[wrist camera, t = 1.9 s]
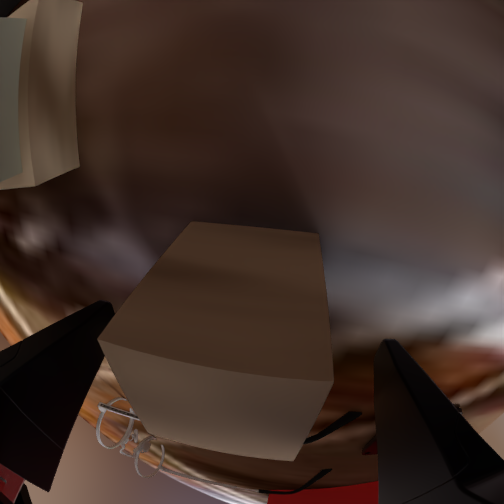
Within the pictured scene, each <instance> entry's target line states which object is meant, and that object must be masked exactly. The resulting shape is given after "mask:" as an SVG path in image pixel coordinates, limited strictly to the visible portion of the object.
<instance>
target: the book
mask: <svg viewBox="0 0 504 504" xmlns="http://www.w3.org/2000/svg"><path fill="white" fill-rule="evenodd" d="M270 491H284V492H286V491H294V490H270ZM267 504H378V481H375V482H369V483H363V484H357V485H350V486H342V487H333V488H322V489H305V490H301V491H300V492H297V493H294V494H286V495H281V494H269V497H268V503H267Z"/></svg>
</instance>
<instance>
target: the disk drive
mask: <svg viewBox="0 0 504 504" xmlns="http://www.w3.org/2000/svg"><path fill="white" fill-rule="evenodd" d="M20 1H21V0H0V17H3V18H5V17H6V16H7V15H8V14H9V13H10V11H11V10H12V9H13V8H14V7H15V6H16V5H17V4H18V3H19V2H20Z"/></svg>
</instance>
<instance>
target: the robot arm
mask: <svg viewBox="0 0 504 504" xmlns="http://www.w3.org/2000/svg"><path fill="white" fill-rule="evenodd" d="M114 315H115V313H114V310H113V307H112V304H111V303H110V302H108V301H104V300H99V301H97V302H95V303H93V304H91V305H89V306H87V307H85V308H83V309H81V310H79V311H77V312H75V313H73V314H71V315H69V316H67V317H65V318H64V319H62V320H60V321H58V322H56V323H54V324H52V325H50V326H48V327H46V328H44V329H42V330H40V331H39V332H37V333H35V334H33V335H31V336H29V337H27V338H25V339H23V341H20V342H18V343H16V344H14V345H12V346H10V347H8V348H6V349H4V350H2V351H0V504H32V502H31V499H30V496H29V492H28V489H27V486H26V485H25V484H24V481H25V480H27V481H29V482H30V483H32V484H34V485H36V486H37V487H39V488H41V489H43V490H45V491H47V492H49V491H50V489H51V486H52V482H53V479H54V476H55V474H56V471H57V468H58V465H59V462H60V459H61V456H62V454H63V450H64V448H65V446H66V443H67V440H68V438H69V435H70V433H71V430H72V428H73V425H74V423H75V420H76V418H77V416H78V414H79V411H80V409H81V407H82V404H83V402H84V400H85V398H86V395H87V393H88V391H89V389H90V387H91V384H92V382H93V380H94V378H95V376H96V374H97V372H98V370H99V368H100V366H101V363H102V361H103V359H104V356H105V355H104V353H103V351H102V348H101V346H100V344H99V342H98V337H99V336H100V334H101V333H102V332H103V330H104V329H105V328H106V326H107V325H108V323H109V322H110V321H111V319H112V318H113V317H114ZM374 410H375V421H376V434H377V435H376V436H375V437H374V438H373V439H372V440H371V441H370V442H369V443H368V444H367V445H366V446H365V447H364V448H363V449H362V455H372V454H378V504H504V460H503V459H502V458H501V457H500V456H499V455H498V454H497V453H496V452H495V451H494V450H493V449H492V448H491V447H490V446H489V445H488V444H487V443H486V442H485V441H484V439H482V437H481V436H480V435H479V434H478V433H477V432H476V431H475V430H474V429H473V428H472V426H471V425H470V424H469V423H468V422H467V421H466V419H465V418H464V417H463V416H462V410H461V408H457V409H456V407H455V406H454V405H453V404H452V403H451V401H450V400H449V399H448V398H447V397H446V395H445V394H444V393H443V392H442V391H441V390H440V388H439V387H438V386H437V385H436V384H435V383H434V382H433V380H432V379H431V378H430V377H429V376H428V375H427V373H426V372H425V371H424V370H423V369H422V368H421V367H420V366H419V364H418V363H417V362H416V361H415V360H414V359H413V358H412V357H411V356H410V354H409V353H408V352H407V351H406V350H405V349H404V348H403V347H402V346H401V345H400V343H399V342H398V341H397V340H395V339H384V340H383V341H382V342H381V344H380V346H379V348H378V351H377V353H376V355H375V357H374Z"/></svg>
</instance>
